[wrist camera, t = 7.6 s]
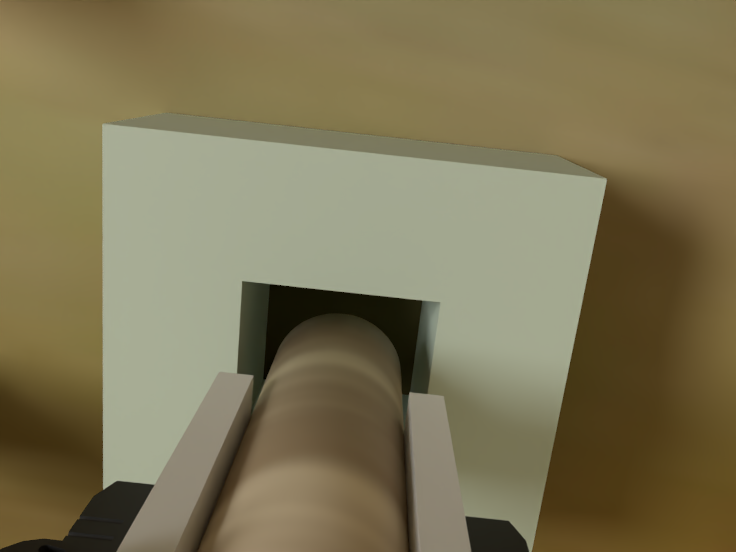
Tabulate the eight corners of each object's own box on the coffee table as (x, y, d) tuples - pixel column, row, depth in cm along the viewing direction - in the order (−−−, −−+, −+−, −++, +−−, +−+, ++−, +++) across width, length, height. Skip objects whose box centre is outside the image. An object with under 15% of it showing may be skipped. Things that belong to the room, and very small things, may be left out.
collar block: (166, 112, 21) (102, 123, 16) (557, 155, 21) (606, 178, 16) (158, 459, 24) (103, 552, 20) (495, 494, 25) (522, 597, 20)
